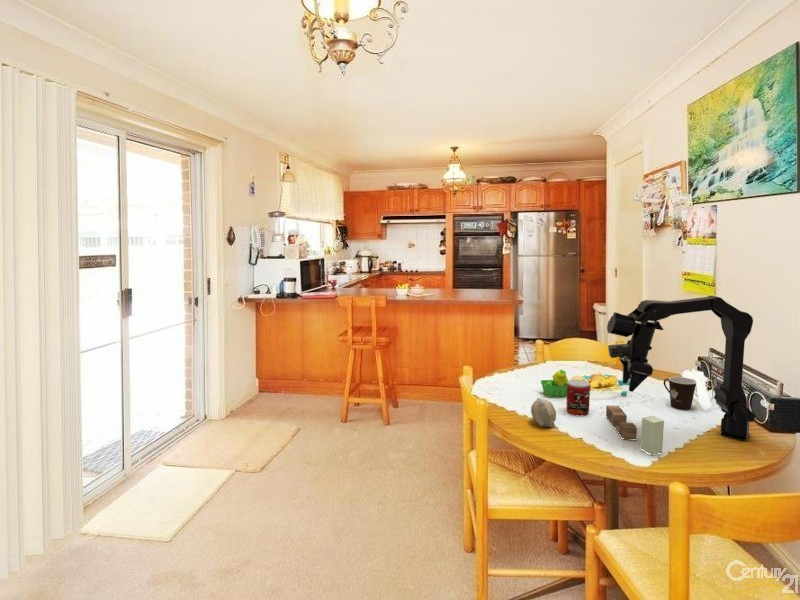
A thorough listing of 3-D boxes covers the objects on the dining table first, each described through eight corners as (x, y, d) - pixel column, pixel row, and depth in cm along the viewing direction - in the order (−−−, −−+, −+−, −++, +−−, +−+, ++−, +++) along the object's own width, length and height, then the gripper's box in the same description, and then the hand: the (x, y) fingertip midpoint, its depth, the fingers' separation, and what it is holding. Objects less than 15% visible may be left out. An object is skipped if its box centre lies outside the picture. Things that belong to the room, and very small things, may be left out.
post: (651, 447, 142) (653, 415, 140) (662, 453, 138) (664, 420, 137) (640, 449, 141) (642, 417, 139) (651, 455, 137) (653, 422, 136)
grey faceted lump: (548, 436, 157) (551, 413, 152) (524, 426, 161) (526, 403, 157) (559, 419, 163) (562, 396, 158) (536, 410, 168) (538, 388, 163)
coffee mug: (698, 411, 169) (700, 384, 167) (672, 410, 170) (674, 383, 169) (684, 400, 180) (686, 374, 179) (660, 399, 182) (662, 374, 180)
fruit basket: (567, 391, 193) (567, 364, 191) (576, 398, 184) (577, 370, 183) (539, 392, 192) (540, 365, 191) (547, 399, 184) (548, 371, 182)
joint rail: (606, 416, 166) (606, 405, 166) (618, 416, 166) (618, 405, 165) (622, 439, 148) (623, 427, 147) (636, 440, 147) (637, 427, 146)
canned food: (566, 415, 168) (567, 385, 167) (566, 407, 176) (567, 378, 174) (589, 417, 166) (590, 386, 164) (588, 409, 173) (589, 380, 172)
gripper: (608, 328, 159) (596, 372, 162) (620, 339, 141) (606, 388, 144) (644, 337, 157) (631, 381, 159) (660, 349, 139) (645, 398, 141)
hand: (627, 386), depth 151 cm, fingers open, 9 cm apart
